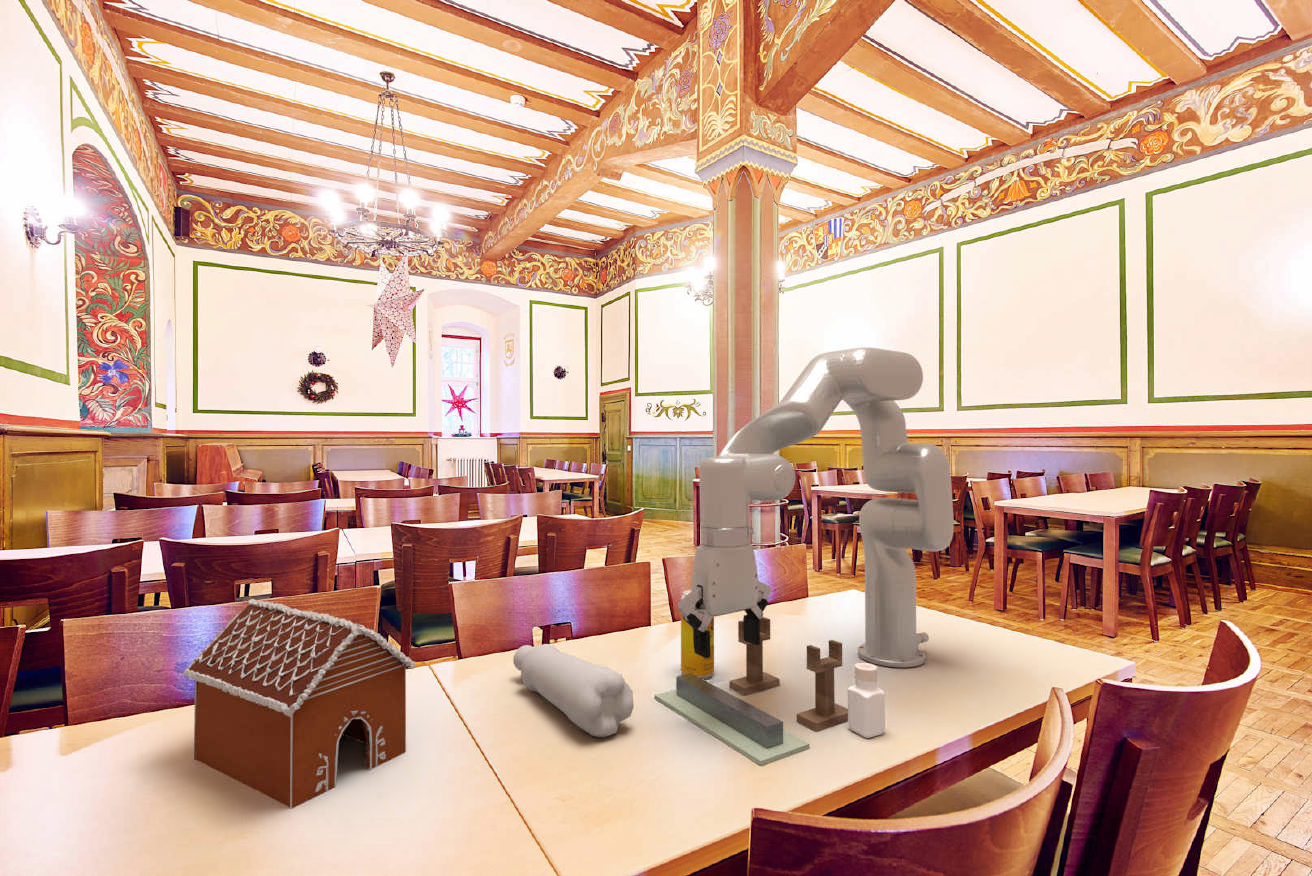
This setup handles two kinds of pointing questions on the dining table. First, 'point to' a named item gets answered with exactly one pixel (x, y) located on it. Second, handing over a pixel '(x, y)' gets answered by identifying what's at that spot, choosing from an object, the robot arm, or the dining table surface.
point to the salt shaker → (866, 702)
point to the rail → (731, 710)
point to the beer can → (688, 656)
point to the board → (732, 732)
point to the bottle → (577, 688)
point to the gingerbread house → (295, 699)
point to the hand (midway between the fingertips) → (727, 649)
